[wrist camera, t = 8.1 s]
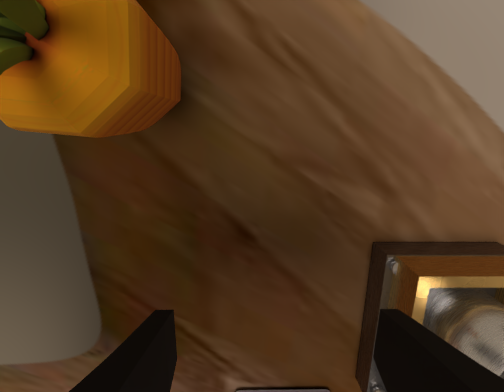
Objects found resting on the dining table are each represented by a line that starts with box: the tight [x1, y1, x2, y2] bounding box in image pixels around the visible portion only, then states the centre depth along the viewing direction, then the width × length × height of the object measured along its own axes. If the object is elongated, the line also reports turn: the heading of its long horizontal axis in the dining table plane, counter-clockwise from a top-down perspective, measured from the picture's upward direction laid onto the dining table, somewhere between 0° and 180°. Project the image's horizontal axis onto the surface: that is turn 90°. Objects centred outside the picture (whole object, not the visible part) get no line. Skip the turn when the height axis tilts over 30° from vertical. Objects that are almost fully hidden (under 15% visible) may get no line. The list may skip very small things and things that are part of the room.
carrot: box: [0, 0, 181, 138], centre depth 9 cm, size 5×5×15 cm
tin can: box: [422, 288, 504, 379], centre depth 15 cm, size 6×4×6 cm
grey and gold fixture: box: [356, 242, 504, 392], centre depth 19 cm, size 12×9×4 cm
